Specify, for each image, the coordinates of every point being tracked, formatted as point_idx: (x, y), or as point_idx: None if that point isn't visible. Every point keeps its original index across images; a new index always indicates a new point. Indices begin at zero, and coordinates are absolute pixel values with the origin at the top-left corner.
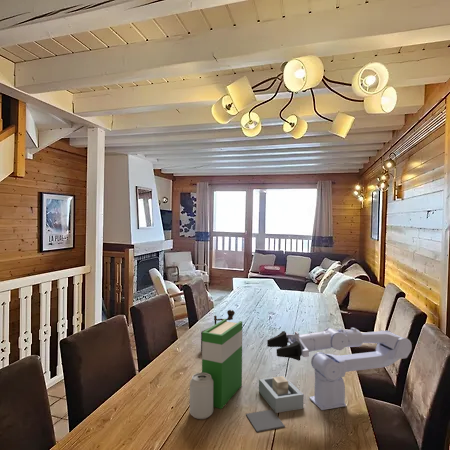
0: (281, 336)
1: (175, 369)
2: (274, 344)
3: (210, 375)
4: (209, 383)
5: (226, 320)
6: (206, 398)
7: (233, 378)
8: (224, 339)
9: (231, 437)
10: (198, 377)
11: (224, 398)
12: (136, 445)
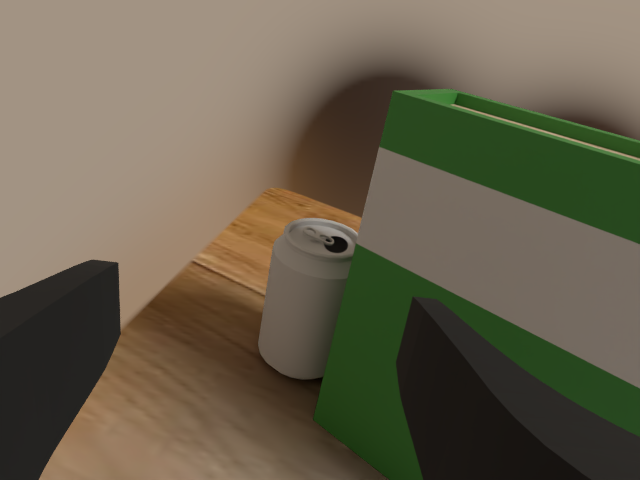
0: (512, 435)
1: None
2: (421, 417)
3: (328, 254)
4: (286, 255)
5: None
6: (267, 291)
7: None
8: (414, 136)
9: (114, 387)
10: None
11: (343, 415)
12: (218, 235)
